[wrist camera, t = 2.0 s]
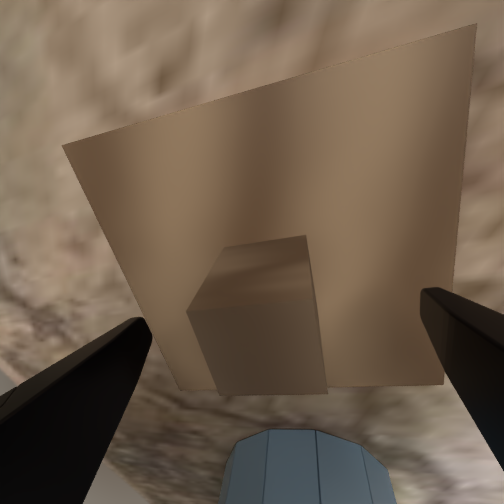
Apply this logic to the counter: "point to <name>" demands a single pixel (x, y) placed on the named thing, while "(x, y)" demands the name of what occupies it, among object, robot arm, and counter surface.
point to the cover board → (294, 221)
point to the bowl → (303, 471)
